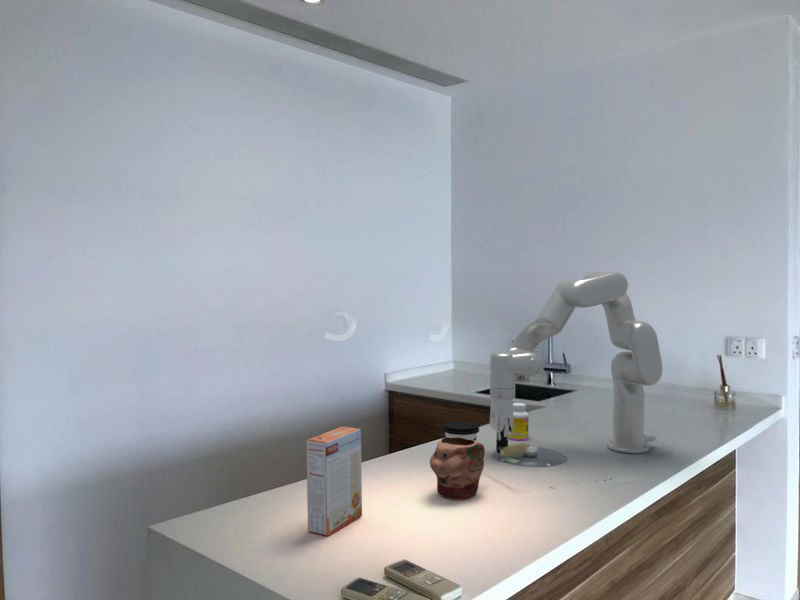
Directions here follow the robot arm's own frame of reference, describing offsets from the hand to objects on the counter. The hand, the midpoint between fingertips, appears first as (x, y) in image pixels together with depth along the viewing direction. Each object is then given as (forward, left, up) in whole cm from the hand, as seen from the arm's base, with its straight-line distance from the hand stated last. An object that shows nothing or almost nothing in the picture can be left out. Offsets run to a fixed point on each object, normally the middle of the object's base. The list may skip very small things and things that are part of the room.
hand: (502, 452), depth 199 cm
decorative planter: (+25, +22, -3) cm, 33 cm away
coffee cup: (+14, 0, -3) cm, 14 cm away
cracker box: (+61, +31, -3) cm, 68 cm away
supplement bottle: (-16, -17, -3) cm, 24 cm away
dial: (-8, +3, -2) cm, 9 cm away
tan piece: (-4, +3, -1) cm, 5 cm away
